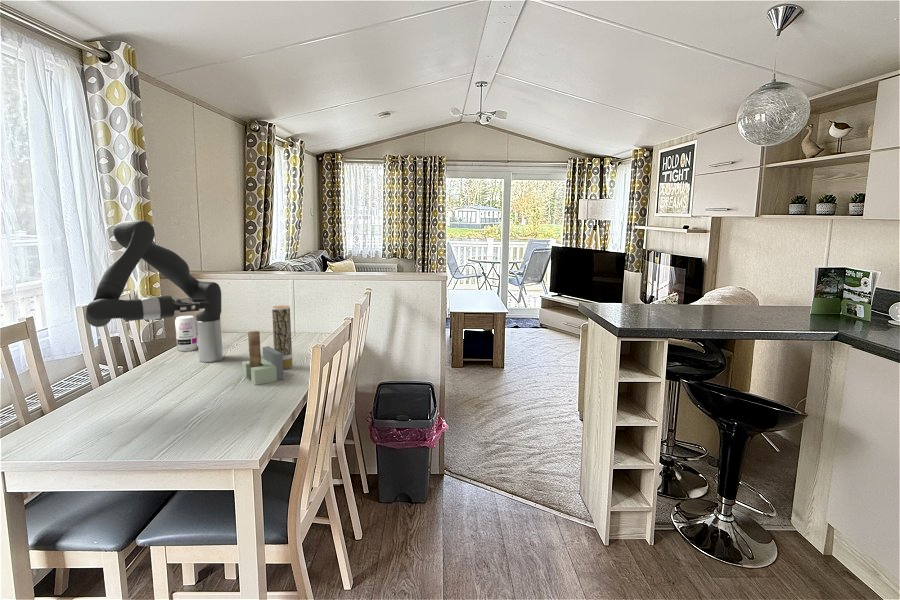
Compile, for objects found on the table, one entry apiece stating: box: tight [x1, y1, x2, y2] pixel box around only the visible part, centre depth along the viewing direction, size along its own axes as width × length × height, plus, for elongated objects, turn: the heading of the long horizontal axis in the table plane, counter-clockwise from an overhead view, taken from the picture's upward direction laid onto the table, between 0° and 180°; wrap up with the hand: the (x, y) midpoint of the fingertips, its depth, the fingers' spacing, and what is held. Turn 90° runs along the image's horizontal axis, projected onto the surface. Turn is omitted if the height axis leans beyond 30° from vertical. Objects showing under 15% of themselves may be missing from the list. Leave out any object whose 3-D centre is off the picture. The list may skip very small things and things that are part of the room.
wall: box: [262, 345, 284, 382], centre depth 204 cm, size 14×2×10 cm, turn 39°
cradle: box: [241, 357, 277, 386], centre depth 201 cm, size 14×8×6 cm, turn 39°
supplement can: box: [174, 315, 198, 352], centre depth 241 cm, size 8×8×15 cm
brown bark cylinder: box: [271, 304, 293, 370], centre depth 213 cm, size 7×7×25 cm
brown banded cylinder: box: [247, 330, 262, 375], centre depth 199 cm, size 4×4×18 cm
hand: (207, 302), depth 190 cm, fingers open, 8 cm apart
